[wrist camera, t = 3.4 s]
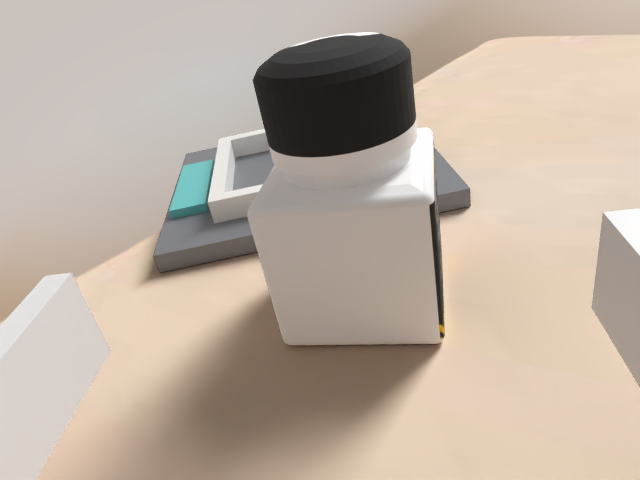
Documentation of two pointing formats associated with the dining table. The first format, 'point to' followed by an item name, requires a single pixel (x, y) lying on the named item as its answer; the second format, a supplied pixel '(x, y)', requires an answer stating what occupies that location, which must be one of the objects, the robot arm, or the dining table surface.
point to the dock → (240, 201)
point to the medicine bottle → (348, 196)
